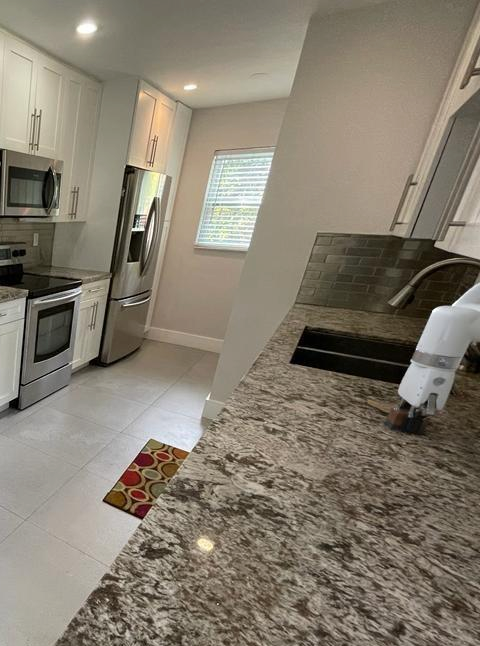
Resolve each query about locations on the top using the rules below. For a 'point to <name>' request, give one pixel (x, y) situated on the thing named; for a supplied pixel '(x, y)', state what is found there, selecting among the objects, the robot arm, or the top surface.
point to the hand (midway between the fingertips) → (403, 427)
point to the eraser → (398, 416)
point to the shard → (382, 405)
